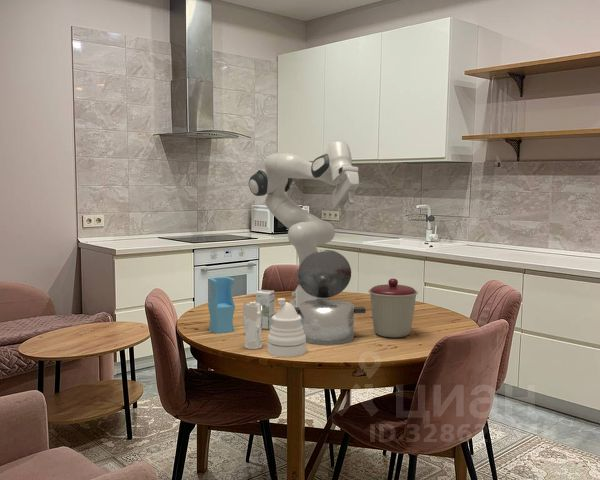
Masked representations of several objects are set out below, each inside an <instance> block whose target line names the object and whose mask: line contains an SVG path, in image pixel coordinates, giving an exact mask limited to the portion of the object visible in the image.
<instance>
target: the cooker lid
mask: <svg viewBox="0 0 600 480" xmlns="http://www.w3.org/2000/svg"><path fill="white" fill-rule="evenodd" d="M351 279H352V269H351V264H350V263H349V261H348V259H347V258H346V257H345V256H344V255H343V254H341V253H340V252H337V251H336V250H333V249H331V250H330V249H320V250H318V251H316V252H314V253H311V254H310V255H308V256H307V257H306V258H305V259H304V260H303V261H302V262H301V264H300V266H299V265H298V270H297V282H298V281H299V284H300V286H301V287H302V289H303V290H304V291H305V292H306V293H308V294H309V295H311V296H314V297H318V298H332V297H335V296H337V295H339V294H340V293H342V292H343V291H344V290H345V289H346V288H347V287H348V285H349V283H350V282H351Z"/></svg>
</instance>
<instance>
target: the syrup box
mask: <svg viewBox="0 0 600 480" xmlns="http://www.w3.org/2000/svg"><path fill="white" fill-rule="evenodd" d="M255 302H260V303H262V304H263V325H262V330H268V331H270V329H271V325H272V323H273V320H272V316H274V315H275V290H268V289H259V290H258V291H256V292H255Z"/></svg>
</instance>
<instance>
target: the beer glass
mask: <svg viewBox="0 0 600 480" xmlns="http://www.w3.org/2000/svg"><path fill="white" fill-rule="evenodd" d="M242 309H243V310H242V322H243V329H244V334H245V341H244V345H243V346H244V348H245V349H247V350H257V349H262V347H263V342H262V330H263V329H262V325H263V304H262V303H260V302H256V301H249V302H244V303H243V306H242Z"/></svg>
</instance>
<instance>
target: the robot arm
mask: <svg viewBox="0 0 600 480" xmlns="http://www.w3.org/2000/svg"><path fill="white" fill-rule="evenodd" d="M352 159H353V158H352V153H351V149H350V146H349V145H348V144H347V142H345V141H342V140H334V141H332V142H330V143H329V144H328V147H327V149H326V150H325V152H324V153H323V154H321V155H320V156H318V157H316V158H314V160H313V161H312V162H311V161H308V160H307V159H305V158H303V157H302V156H300V155H297V154H295V153H291V152H274V153H271V154H268V156H267V157H266V159H265V160H264V161H265V162H264V169H262V170H260V169H259V170H258V171H256V172H255V173H254V174H253V175H251V176H250V178H249V180H248V187H249V191H250V192H251V193H252V194H253V195H254V196H255V197H263V196H265V195H266V197H265V200H264V201H265V202H264V203H265V206H266V207H267V209H268V211H270V213H271V214H272V215H273V216H274V217H275V218H276V220H278V221H279V222H280V223H282V225H283V226H285V228H287V229H288V231H287V238H288V242H290V244H291V245H292V246H293V247H294V249H295V251H296V254H297V258H298V267H299V266H300V264H301V262H302V261H303V260H304V259H305V258H306V257H307V256H308V255H310V254H311V253H314V252H316V251H319V250H318V246H321V245H325V244H328V243H330V242H331V241H333V240H334V237H335V234H336V233H335V231H336V230H335V227H334V226H333V224H332V223H331V222H329V221H326V220H323V219H321V218H319V217H318V216H316V215H314V214H312V213H310V212H308V211H307V210H305V209H303V208H302V207H301V206H300V205H299V204H298V203H296V202H295V201H294V200H292V198H290V197H288V195H287V194H286V192H288V191H289V190H291V189H290V188H291V185H292V182H293V179H302V180H304V179H305V180H315V181H320V182H324V183H326V184H328V185H331V186H333V187H335V188H334V189H333V191H332V192H331V193H332V195H331V196H332V199H331V201H332V207H333V209H335V210H338V211H339V214H340V216H345V215H346V209H345V208H344V207H345V205H346V203H348V204H349V205H353V204H354V203H355V194H356V191H357V189H358V188H359V186H360V185H359V184H360V177H359V167H358V166H353V164H352V163H353V162H352V161H353V160H352ZM291 297H292V298H293V299H290V300H289V303H290V304H291V305H292V306H293V307H299V304H300V303H302V302H305V301H310V300H316V299H324V298H318V297H314V296H311V295H309V294H308V293H306V292H305V291H304V290H303V289H302V287H301V286H300V284H299V281H298V280H297V287H296V288H295V289H294V291H291Z"/></svg>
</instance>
